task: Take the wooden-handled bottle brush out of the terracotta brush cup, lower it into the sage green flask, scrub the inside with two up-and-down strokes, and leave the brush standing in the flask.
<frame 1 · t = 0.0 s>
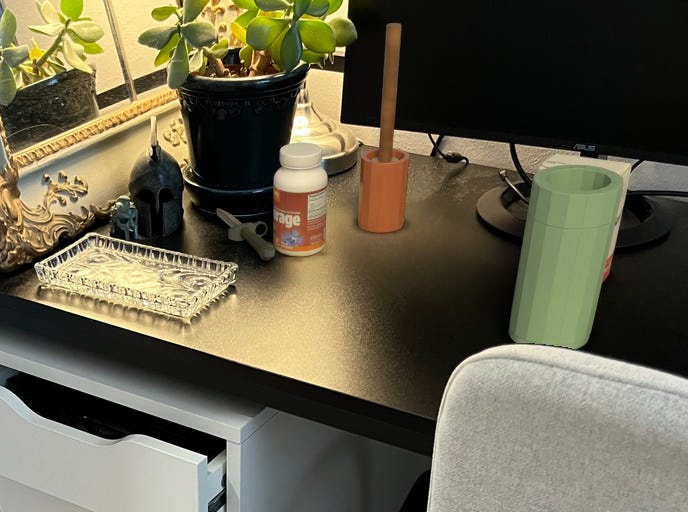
pill bottle: (299, 249, 120), on the table
brush cup: (380, 224, 124), on the table
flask: (548, 334, 101), on the table
knife: (224, 232, 122), point 1 cm above the table
brush: (381, 219, 124), resting on brush cup
ink box: (564, 276, 111), on the table
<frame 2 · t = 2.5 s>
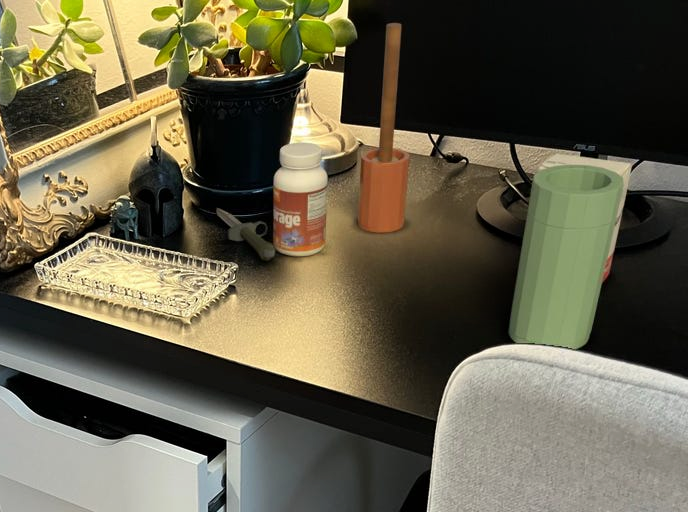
nothing on the table moved.
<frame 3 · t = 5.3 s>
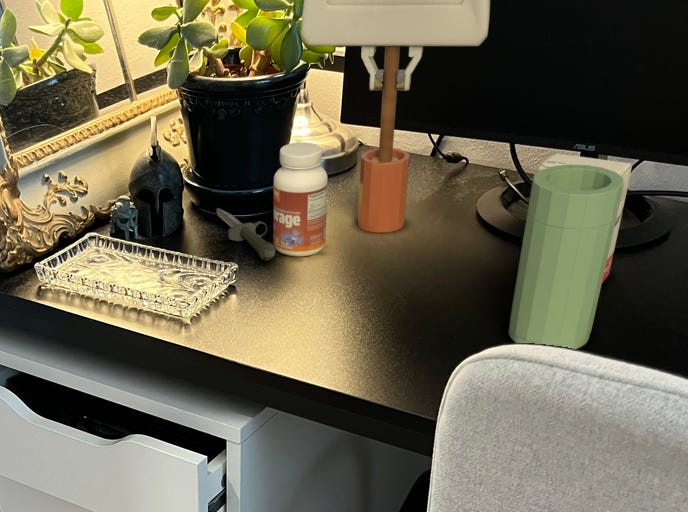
hand: (390, 89, 114), 15 cm above the table, tool pointing down, fingers closed on brush
brush: (381, 219, 124), point 1 cm above the table, touching brush cup, gripper
everything else where it was.
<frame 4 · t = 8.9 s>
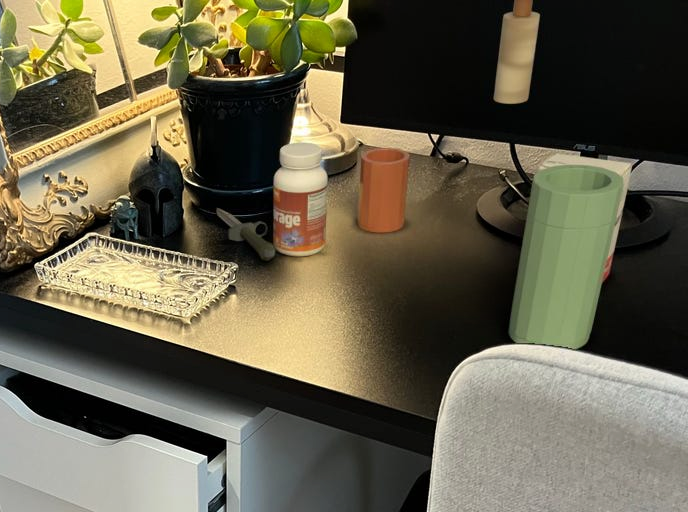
brush: (510, 99, 96), point 19 cm above the table, touching gripper
everything else where it was.
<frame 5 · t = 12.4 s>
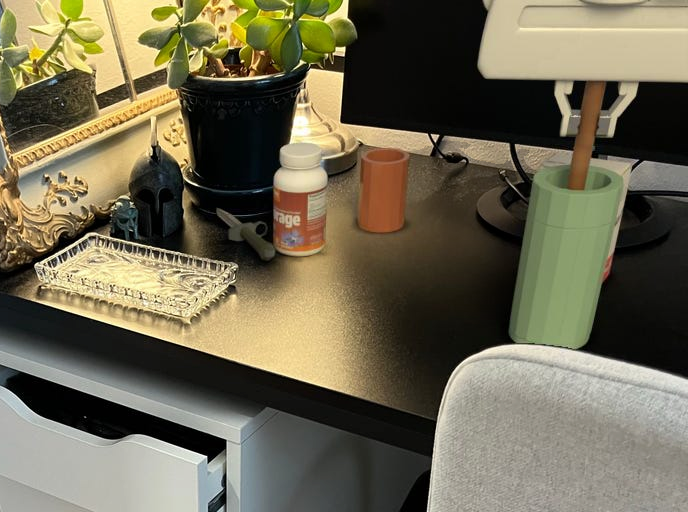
hand: (586, 135, 88), 19 cm above the table, tool pointing down, fingers closed on brush
brush: (554, 295, 98), point 4 cm above the table, touching gripper
everything else where it was.
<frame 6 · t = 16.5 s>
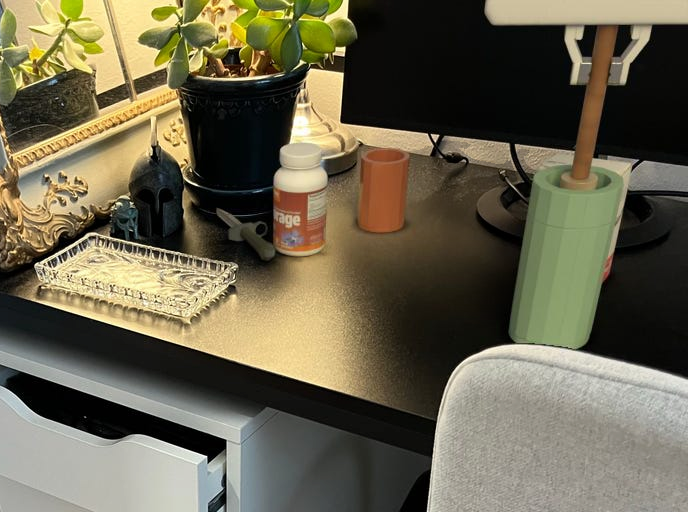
hand: (597, 83, 85), 23 cm above the table, tool pointing down, fingers closed on brush
brush: (565, 253, 95), point 8 cm above the table, touching gripper
everything else where it was.
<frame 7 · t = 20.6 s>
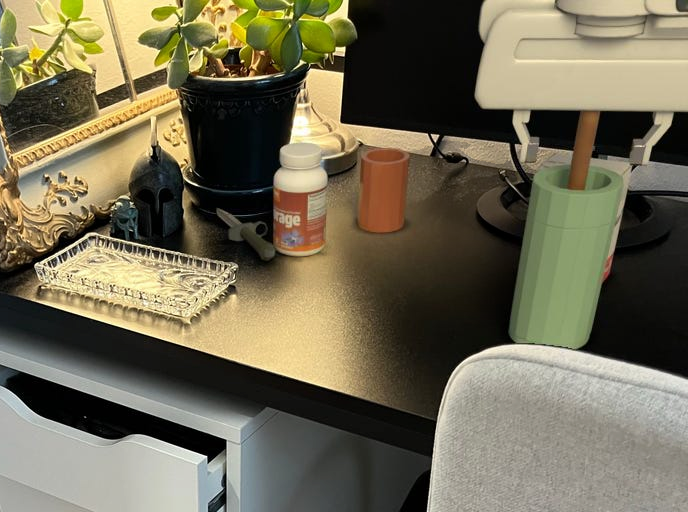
hand: (582, 162, 90), 16 cm above the table, tool pointing down, fingers open, 8 cm apart
brush: (548, 327, 100), point 1 cm above the table, touching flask
everything else where it was.
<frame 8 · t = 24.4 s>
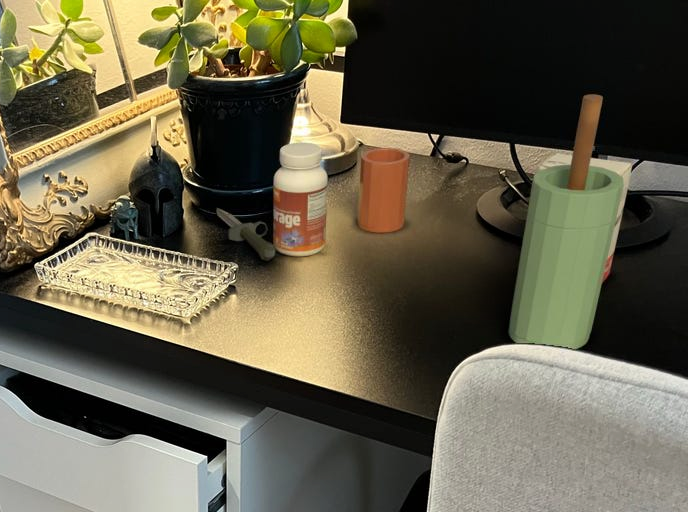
nothing on the table moved.
at the end: brush 0.1 cm off-centre in the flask, point 0.8 cm above the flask's base; brush moved 33.6 cm from its start; the gripper is holding nothing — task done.
